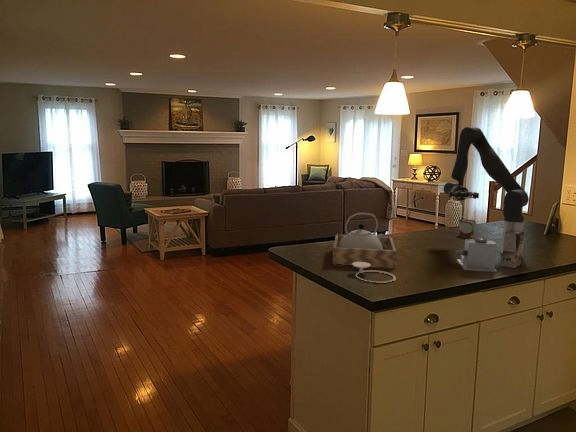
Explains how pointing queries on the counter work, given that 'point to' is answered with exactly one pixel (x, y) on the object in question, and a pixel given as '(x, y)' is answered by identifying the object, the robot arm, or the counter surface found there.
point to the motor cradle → (478, 255)
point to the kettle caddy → (366, 254)
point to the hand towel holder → (366, 265)
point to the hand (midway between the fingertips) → (466, 196)
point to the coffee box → (512, 248)
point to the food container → (466, 228)
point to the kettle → (361, 237)
